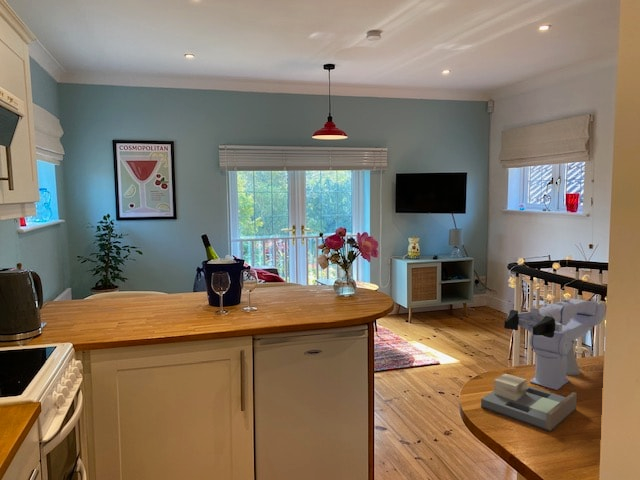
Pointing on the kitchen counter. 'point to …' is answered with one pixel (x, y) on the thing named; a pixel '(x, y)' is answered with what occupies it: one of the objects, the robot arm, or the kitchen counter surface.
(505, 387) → the beech block
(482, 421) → the kitchen counter surface
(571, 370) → the flask
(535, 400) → the board
